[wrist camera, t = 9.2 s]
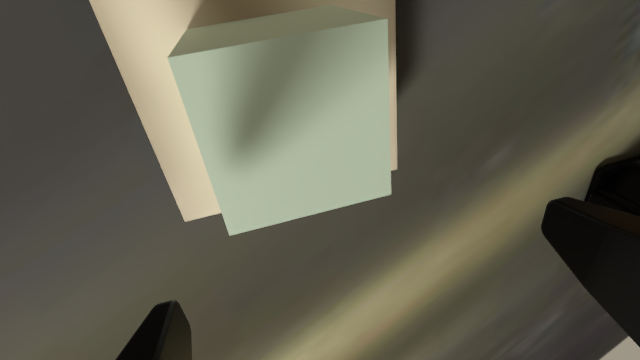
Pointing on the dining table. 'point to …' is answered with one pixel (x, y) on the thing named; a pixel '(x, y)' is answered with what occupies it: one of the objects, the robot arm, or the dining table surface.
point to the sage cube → (289, 111)
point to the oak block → (161, 89)
